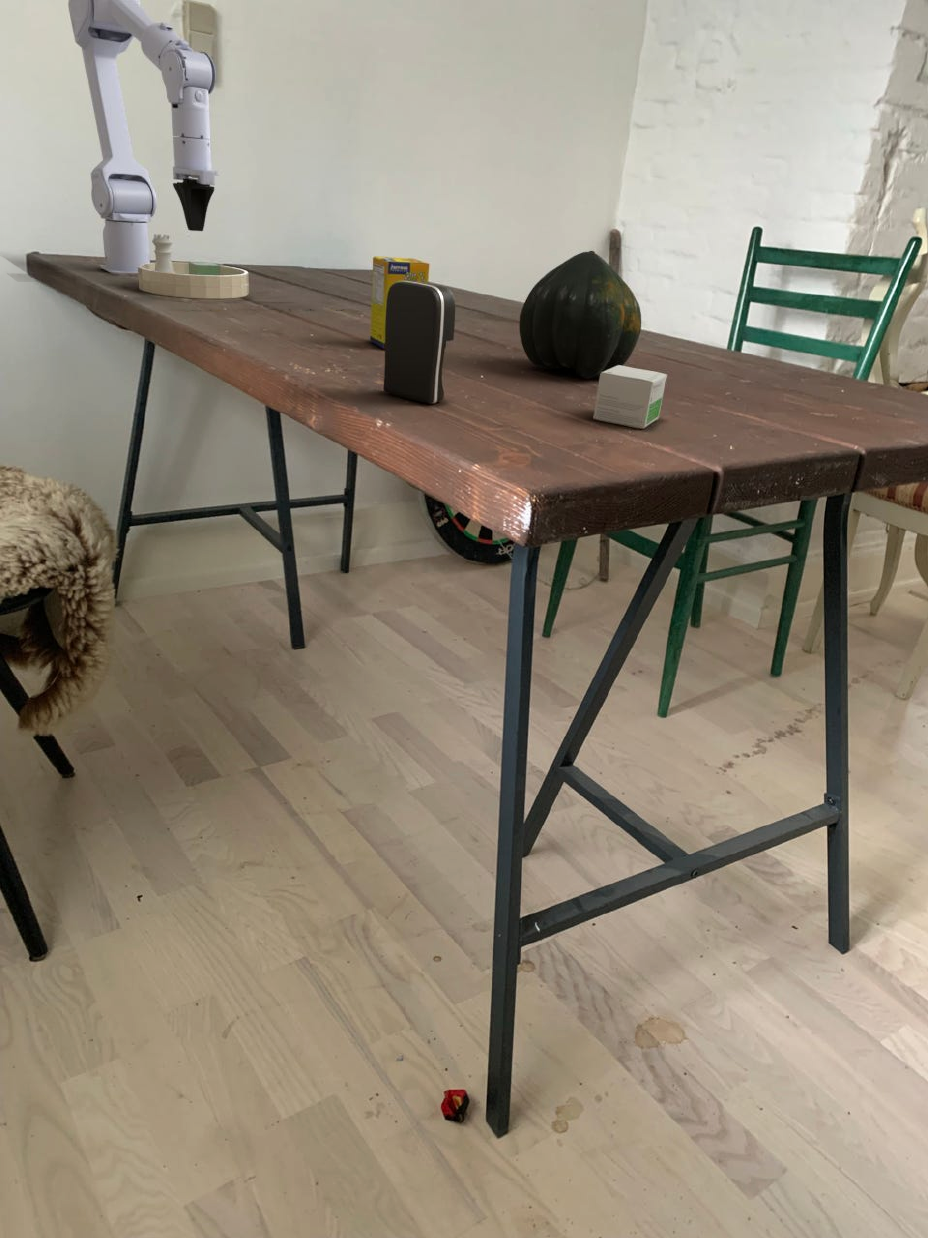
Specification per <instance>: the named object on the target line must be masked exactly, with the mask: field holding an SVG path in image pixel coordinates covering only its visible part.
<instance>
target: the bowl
mask: <svg viewBox="0 0 928 1238" xmlns="http://www.w3.org/2000/svg"><path fill="white" fill-rule="evenodd" d="M172 266H173V270H174V272H175V273H168V272H160V271H154V270H155V262H150V263H144V264H140V265H138V273H137V277H138V288H139V290H140V291H142V292H144V293H148V294H152V295H158V296H164V297H171V298H172V297H173V298H185V299H205V300H206V299H207V300H208V299H209V300H210V299H211V300H219V299H220V300H224V299H237V298H244V297H247V296H248V295H249V294H250V284H249V283H250V282H249V281H250V280H249V279H250V278H249V275H250V274H249V271H248V270H245V269H242V268H238V267H233V266H227V265H220V270H221V276H215V275H189V262H175V261H172Z"/></svg>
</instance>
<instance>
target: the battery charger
mask: <svg viewBox="0 0 928 1238" xmlns="http://www.w3.org/2000/svg"><path fill="white" fill-rule="evenodd" d="M455 324H456V299H455V295H454V294H453V292H452V291H451V290H450V289H449V288H447V287H446V286H442V285H439V284H433V283H429V282H428V283H422V282H415V281H413V282H410V281H398V282H396V283H394V284H392V286H391V287H390V288H389V291H388V294H387V303H386V319H385V349H384V371H383V391H384V392H385V393H388V394H391V395H393V396H397V397H401V398H404V399H407V400H412V401H415V402H421V403H425V404H426V403H427V404H436V403H438V402H441V401H443V400H444V397H445V391H444V387H443V365H444V358H445V349H446V348H447V342H450V341H451V342H452V341H454V340H455V339H454V337H455V328H456V327H455V326H456V325H455Z"/></svg>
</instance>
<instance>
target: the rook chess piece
mask: <svg viewBox="0 0 928 1238" xmlns="http://www.w3.org/2000/svg"><path fill="white" fill-rule="evenodd" d="M151 242H152V244H153V246H154V251H153V252H154V255H155V262H154V263H155V270H154V271H160V272H168V273H175V272H174V270H173V266H172V262H173V261H172V253H173V251H172V250H171V249H172V248H171V247H172V245H173V243H174V241H173V240H172V239H171V235H169V234H168V235H167V234H163V236H162V234H153V239H152V240H151Z"/></svg>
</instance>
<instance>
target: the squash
mask: <svg viewBox="0 0 928 1238" xmlns="http://www.w3.org/2000/svg"><path fill="white" fill-rule="evenodd" d="M641 331H642V313H641V307H640V304H639V302H638V299H637V297H636V296H635V294H634V292H633V291H632V289H631V288H630V286H629V285H628V284H627V283H626V282H625V280H623V278H622V277H621V276H620V275H619V273H617V272H616V271H615V269H614V268H613V267H612V266H610V265H609V263H608V262H607V261H606V260H605V259H603V257H601V256H600V254H597V253H596V252H595V251H594V250H589V251H582V252H580V253H578V254H575V255H573V256H572V257H570V258H569V259H566V260H565V261H564V262H562V263H561V264H559V265H557V266H556V267H554V268H553V269H551V270H550V271H548V272H547V273H546V274H544V276H543V277H541V279H539V280H538V282H536V283H535V284H534V286H533V287H532V288H531V290H530V291H529V293H528V294H527V296H526V298H525V300H524V302H523V305H522V308H521V310H520V313H519V336H520V343H521V347H522V349H523V352H524V353H525V355H526V357H527V359H528V360H529V361H530V362H531V363H532V364H533V365H534V366H535V367H538V368H539V369H542V370H546V371H553V370H554V371H555V370H558V369H560V368H562V367H564V368H568V369H570V368H573V367H574V370H575V372H576V375H578V376H580V377H581V378H583V379H586V380H588V379H593V378H594V377H596V376H600V374H601V373H602V372H604V371H606V370H608V369H611V368H613V367H615V366H617V365H621V366H625V364H626V363H627V361H628V360H629V359H630V357H631V356H632V354H633V352H634V351H635V348H636V346H637V343H638V341H639V339H640V338H639V337H640V334H641Z"/></svg>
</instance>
